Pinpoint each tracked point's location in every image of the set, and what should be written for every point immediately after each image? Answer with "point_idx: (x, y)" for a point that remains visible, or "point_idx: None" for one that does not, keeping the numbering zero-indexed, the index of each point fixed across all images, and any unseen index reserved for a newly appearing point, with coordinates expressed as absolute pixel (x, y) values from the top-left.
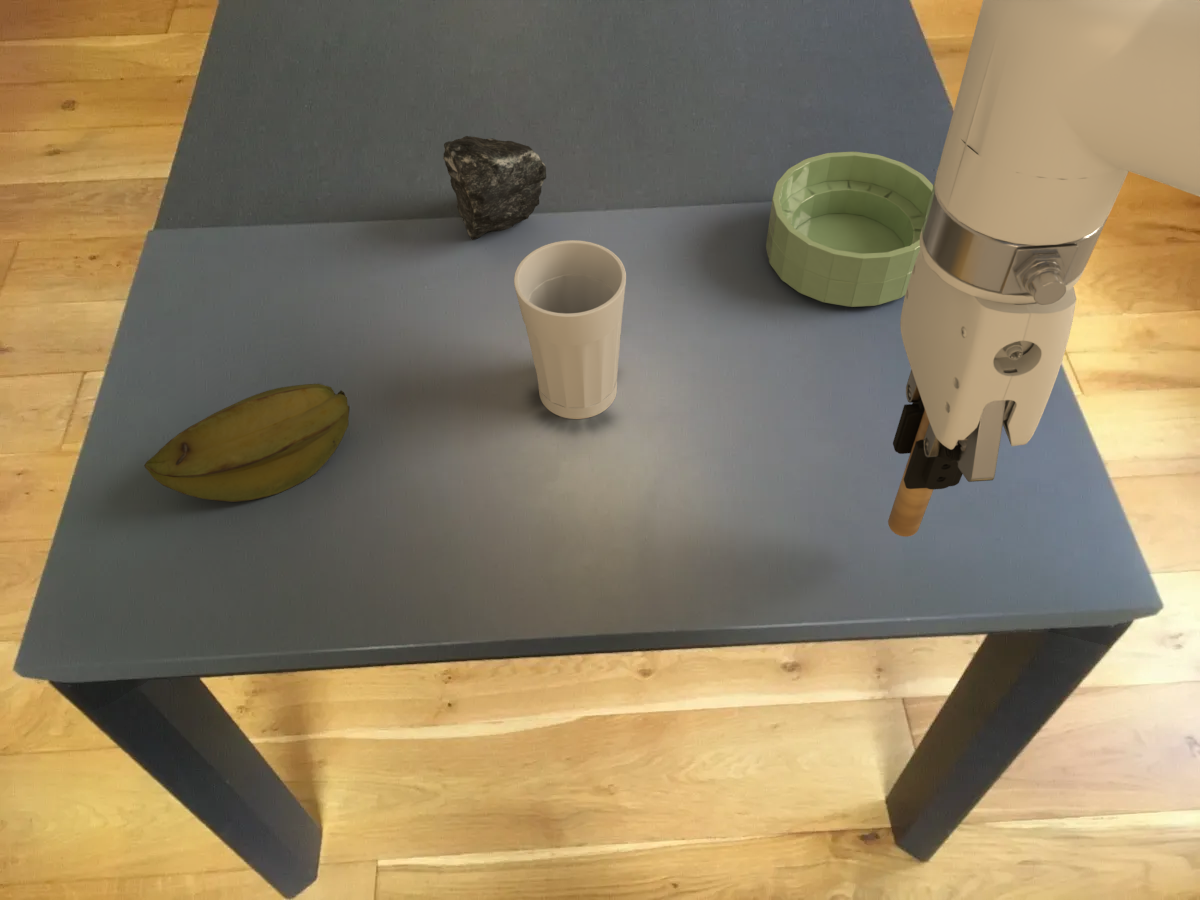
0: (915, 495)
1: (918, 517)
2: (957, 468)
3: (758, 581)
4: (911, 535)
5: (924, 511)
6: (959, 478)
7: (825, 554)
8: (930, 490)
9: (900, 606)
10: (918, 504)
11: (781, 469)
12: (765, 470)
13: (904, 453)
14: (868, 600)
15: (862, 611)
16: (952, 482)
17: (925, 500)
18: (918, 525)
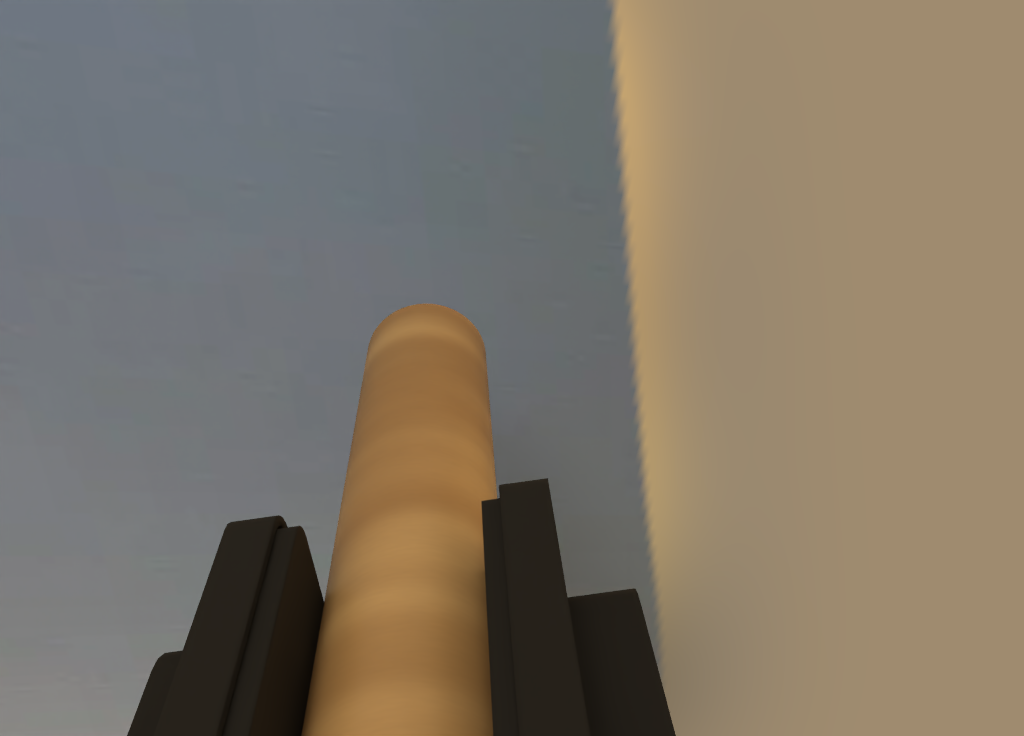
0: None
1: (485, 394)
2: (670, 717)
3: None
4: (479, 334)
5: (467, 383)
6: (552, 511)
7: None
8: (481, 487)
9: (603, 248)
10: (494, 466)
11: (127, 561)
12: (142, 601)
13: None
14: (584, 339)
15: (622, 358)
16: (638, 602)
17: (486, 454)
18: (468, 341)
